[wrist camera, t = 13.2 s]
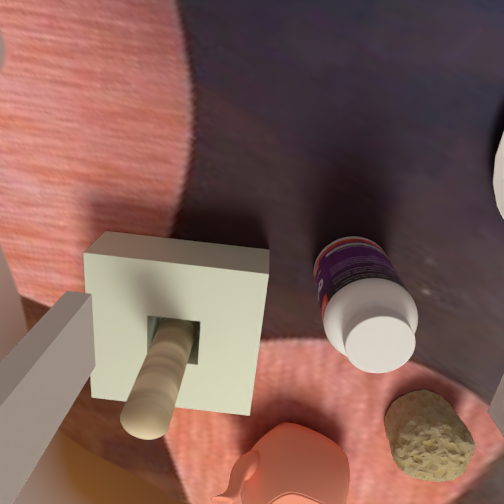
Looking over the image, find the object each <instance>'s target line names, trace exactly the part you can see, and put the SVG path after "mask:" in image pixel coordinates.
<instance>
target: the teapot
mask: <svg viewBox="0 0 504 504" xmlns="http://www.w3.org/2000/svg"><path fill="white" fill-rule="evenodd" d="M349 481H350V471H349V462H348V458H347V456H346V454H345V452H344V451H343V450H342V449H341V448H340V447H339V446H338V445H337V444H336V443H335V442H333V441H332V440H331V439H329V438H327V437H326V436H324V435H322V434H320V433H318V432H316V431H314V430H312V429H309V428H307V427H304V426H302V425H298V424H295V423H289V422H281V423H279V424H278V425H277V426H276V427H275V428H273V429H272V430H270V431H269V432H268V433H266V434H265V435H264V436H263V437H262V438H261V439H260V440H259V441H258V442H257V443H256V444H255V445H254V446H253V448H252V449H251V450H250V452H247V453H245V454H243V455H242V456H241V457H240V458H239V459H238V460H237V461H236V462H235V464H234V466H233V468H232V471H231V475H230V480H229V485H228V488H227V490H226V491H225V492H224V493H223V494H221V495H217V496H214V497H213V498H212V499H211V500H212V501H213V502H215V503H217V504H232V503H234V502H235V501H236V500H237V499H238V497H239V495H240V494H241V501H242V504H346V501H347V496H348V491H349Z"/></svg>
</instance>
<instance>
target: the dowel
mask: <svg viewBox="0 0 504 504" xmlns="http://www.w3.org/2000/svg"><path fill="white" fill-rule="evenodd" d="M198 323H199V321H191V320H183V319H174V318H165V317H163V318H162V321H161V323H160V325H159V327H158V330H157V332H156V334H155V337H154V339H153V341H152V344H151V346H150V348H149V350H148V353H147V355H146V357H145V360H144V362H143V364H142V366H141V369H140V371H139V373H138V376H137V378H136V380H135V383H134V385H133V387H132V389H131V392H130V394H129V396H128V399H127V401H126V403H125V406H124V408H123V410H122V412H121V416H120V421H121V424H122V426H123V428H124V429H125V430H126V431H127V432H128V433H129V434H131V435H133V436H135V437H137V438H141V439H156V438H159V437H161V436H162V435H164V434H165V433H166V432H167V430H168V428H169V425H170V421H171V418H172V414H173V411H174V407H175V404H176V400H177V397H178V393H179V390H180V386H181V383H182V379H183V376H184V372H185V369H186V365H187V362H188V358H189V355H190V351H191V348H192V344H193V341H194V337H195V334H196V330H197V327H198Z"/></svg>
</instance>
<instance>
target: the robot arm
mask: <svg viewBox="0 0 504 504" xmlns="http://www.w3.org/2000/svg"><path fill="white" fill-rule="evenodd" d="M95 366H96V365H95V346H94V327H93V309H92V294H89V293H81V292H72V291H66V292H65V294H64V295H63V296H62V297H61V298H60V299H59V300H58V301H57V302H56V303H55V304H54V305H53V306H52V308H51V309H50V310H49V311H48V312H47V313H46V314H45V315H44V316H43V317H42V318H41V319H40V320H39V321H38V323H37V324H36V325H35V326H34V327H33V328H32V329H31V330H30V331H29V332H28V333H27V334H26V335H25V337H24V338H23V339H22V340H21V341H20V342H19V343H18V344H17V345H16V346H15V347H14V348H13V349H12V350H11V352H10V353H9V354H8V355H7V356H6V357H5V358H4V359H3V360H2V361H1V362H0V504H13V503H14V501H15V499H16V498H17V496H18V494H19V492H20V491H21V489H22V487H23V486H24V484H25V483H26V481H27V479H28V478H29V476H30V474H31V473H32V471H33V469H34V468H35V466H36V464H37V463H38V461H39V459H40V457H41V456H42V454H43V453H44V451H45V449H46V447H47V446H48V444H49V443H50V441H51V439H52V438H53V436H54V434H55V433H56V431H57V429H58V428H59V426H60V424H61V423H62V421H63V419H64V418H65V416H66V414H67V413H68V411H69V409H70V408H71V406H72V404H73V403H74V401H75V399H76V398H77V396H78V394H79V393H80V391H81V389H82V388H83V386H84V384H85V383H86V381H87V379H88V378H89V376H90V374H91V373H92V371H93V369H94V368H95ZM488 413H489V415H490V416H491V418H492V419H493V421H494V423H495V424H496V426H497V427H498V429H499V431H500V432H501V434H502V435H503V437H504V374H503V377H502V379H501V381H500V384H499V386H498V388H497V391H496V393H495V395H494V398H493V400H492V402H491V405H490V407H489V409H488Z"/></svg>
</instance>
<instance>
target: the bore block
mask: <svg viewBox="0 0 504 504" xmlns="http://www.w3.org/2000/svg"><path fill="white" fill-rule="evenodd" d="M83 258H84V275H85V292H86V293H89V294H92V309H93V327H94V346H95V365H96V366H95V368H94V369H93V371H92V373H91V374H90V375H91V392H92V397H93V398H101V399H110V400H118V401H127V399H128V396H129V394H130V392H131V389H132V387H133V385H134V383H135V380H136V378H137V376H138V373H139V371H140V369H141V366H142V364H143V362H144V360H145V357H146V355H147V353H148V350H149V348H150V346H151V344H152V341H153V339H154V337H155V334H156V332H157V330H158V327H159V325H160V323H161V321H162V318H163V317H165V318H174V319H183V320H191V321H199V323H198V327H197V330H196V334H195V337H194V341H193V344H192V348H191V351H190V355H189V358H188V362H187V365H186V369H185V372H184V376H183V379H182V383H181V386H180V390H179V393H178V397H177V400H176V404H175V407H179V408H187V409H196V410H204V411H213V412H222V413H230V414H239V415H247V416H250V410H251V403H252V395H253V388H254V380H255V373H256V366H257V358H258V351H259V343H260V336H261V328H262V321H263V314H264V306H265V299H266V291H267V284H268V276H269V250H267V249H259V248H250V247H241V246H233V245H224V244H215V243H207V242H198V241H189V240H181V239H172V238H163V237H155V236H146V235H137V234H129V233H120V232H111V231H105V232H104V233H103V234H102V235H101V236H100V237H99V238H98V239H97V240H96V241H95V242H94V243H93V244H92V245H91V246H90V247H89V248H88V249H86V250H85V251H84V252H83Z"/></svg>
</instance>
